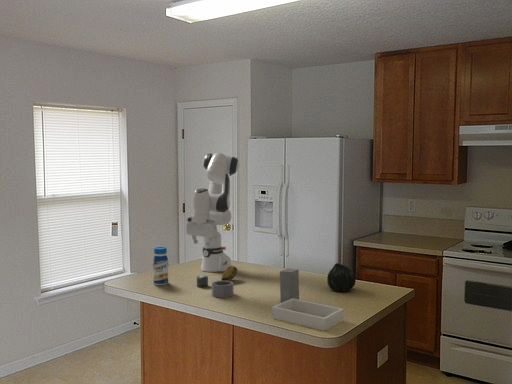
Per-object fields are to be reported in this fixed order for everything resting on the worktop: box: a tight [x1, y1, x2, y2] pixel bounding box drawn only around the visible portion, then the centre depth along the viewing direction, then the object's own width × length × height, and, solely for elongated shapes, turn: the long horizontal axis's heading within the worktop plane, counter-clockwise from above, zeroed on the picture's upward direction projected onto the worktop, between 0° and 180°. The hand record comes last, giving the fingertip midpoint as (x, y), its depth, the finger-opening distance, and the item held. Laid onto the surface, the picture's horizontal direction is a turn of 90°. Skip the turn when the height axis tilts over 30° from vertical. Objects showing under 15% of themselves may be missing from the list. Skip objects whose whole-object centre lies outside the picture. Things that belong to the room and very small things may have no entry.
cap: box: [196, 275, 209, 289], centre depth 267 cm, size 6×6×5 cm
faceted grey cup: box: [211, 280, 235, 299], centre depth 250 cm, size 11×11×6 cm
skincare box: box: [279, 268, 300, 303], centre depth 237 cm, size 8×7×16 cm
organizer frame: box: [271, 298, 344, 331], centre depth 212 cm, size 16×26×5 cm, turn 52°
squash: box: [326, 263, 356, 293], centre depth 258 cm, size 14×15×15 cm
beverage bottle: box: [152, 246, 169, 286], centre depth 271 cm, size 8×8×20 cm
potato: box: [220, 266, 238, 281], centre depth 276 cm, size 8×13×8 cm, turn 139°
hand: (201, 244), depth 265 cm, fingers open, 8 cm apart
